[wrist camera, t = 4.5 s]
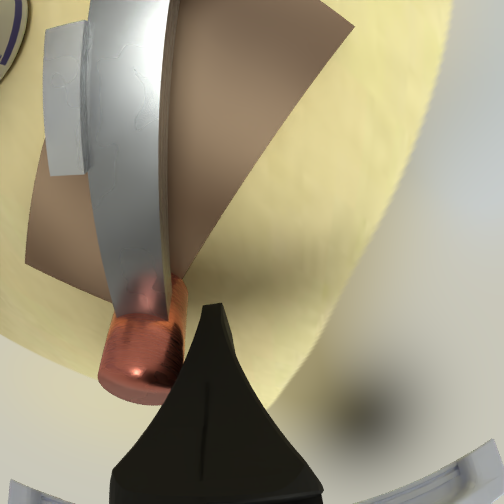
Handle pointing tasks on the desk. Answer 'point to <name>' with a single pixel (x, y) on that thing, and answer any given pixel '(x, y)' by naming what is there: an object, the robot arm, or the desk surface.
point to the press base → (198, 128)
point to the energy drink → (11, 31)
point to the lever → (123, 177)
